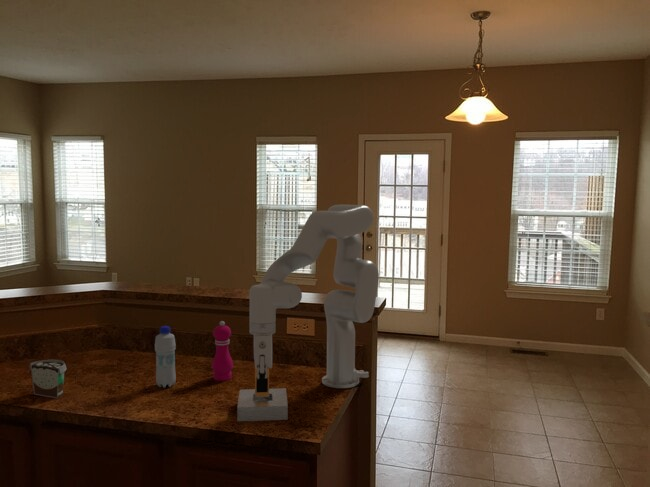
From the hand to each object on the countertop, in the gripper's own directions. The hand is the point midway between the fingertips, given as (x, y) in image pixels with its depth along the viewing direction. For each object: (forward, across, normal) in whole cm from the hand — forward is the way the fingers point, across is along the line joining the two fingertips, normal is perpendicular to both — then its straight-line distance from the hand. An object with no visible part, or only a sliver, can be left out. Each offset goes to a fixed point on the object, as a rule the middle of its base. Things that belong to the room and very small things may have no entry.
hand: (262, 388), depth 158 cm
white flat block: (+7, 0, 0) cm, 7 cm away
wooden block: (+2, 0, 0) cm, 2 cm away
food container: (+7, +20, +66) cm, 69 cm away
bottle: (+7, +24, +32) cm, 41 cm away
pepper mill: (+7, +30, +14) cm, 34 cm away
